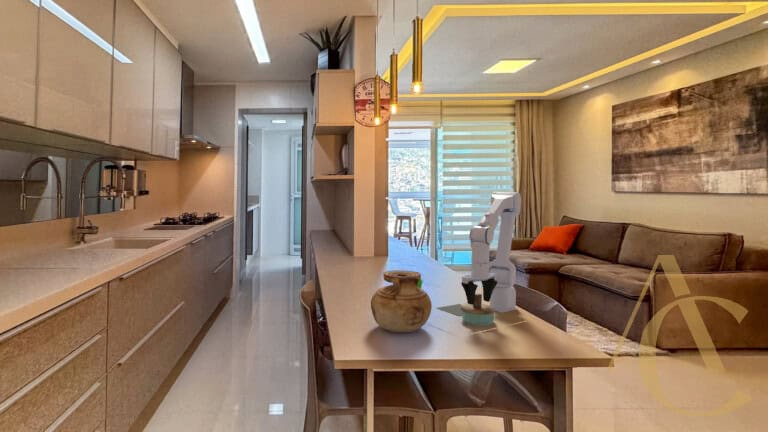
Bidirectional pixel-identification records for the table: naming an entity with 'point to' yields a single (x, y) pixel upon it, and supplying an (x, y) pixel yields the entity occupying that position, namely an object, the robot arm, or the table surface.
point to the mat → (452, 309)
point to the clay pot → (401, 303)
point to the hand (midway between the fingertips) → (478, 302)
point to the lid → (477, 306)
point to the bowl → (478, 319)
